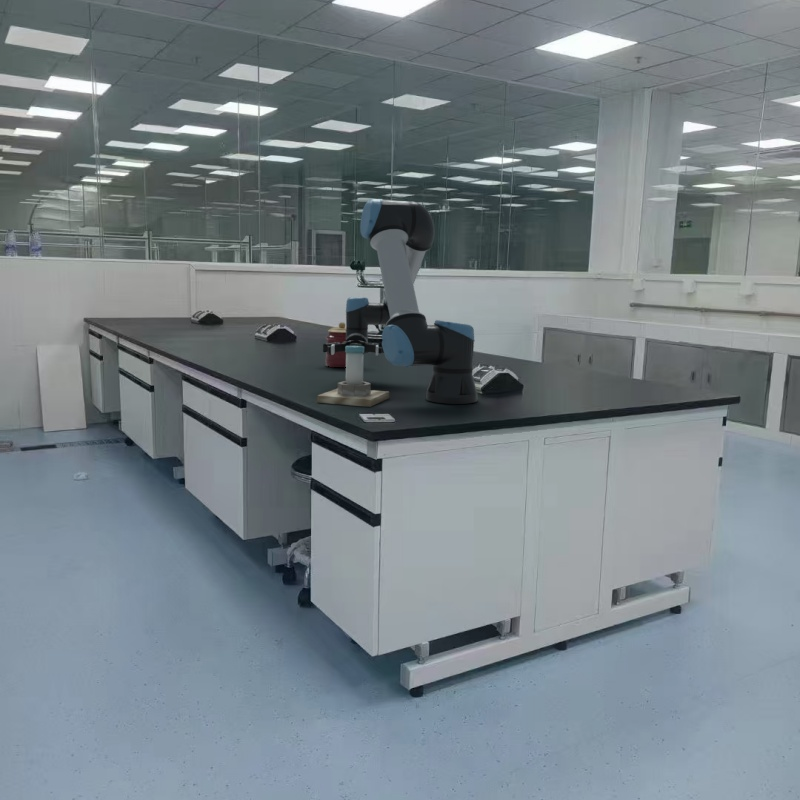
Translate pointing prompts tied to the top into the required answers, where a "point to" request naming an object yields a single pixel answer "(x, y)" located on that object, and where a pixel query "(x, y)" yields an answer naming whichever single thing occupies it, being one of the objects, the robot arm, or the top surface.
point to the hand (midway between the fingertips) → (354, 350)
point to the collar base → (353, 395)
